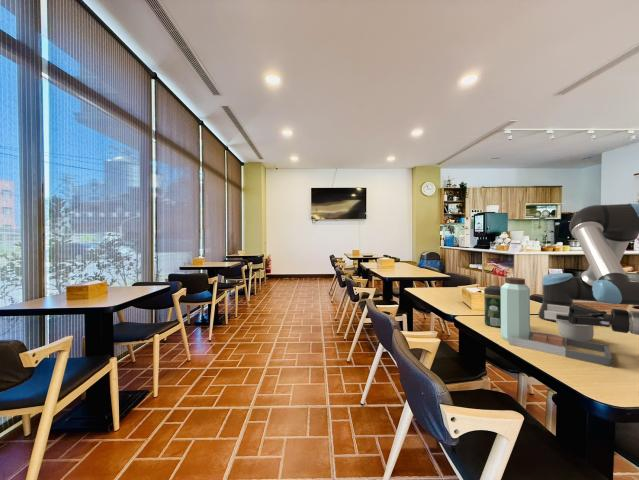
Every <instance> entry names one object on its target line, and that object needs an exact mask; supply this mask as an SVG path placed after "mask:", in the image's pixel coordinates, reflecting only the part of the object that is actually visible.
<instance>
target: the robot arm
mask: <svg viewBox="0 0 639 480" xmlns="http://www.w3.org/2000/svg"><path fill="white" fill-rule="evenodd" d="M569 221H570V222H569V227H568V228H569V232H570V234H571V236H572V238H574V239H575V240H577V241H578V243H579V246H580V247H581V250H582V252H583V253H584V256H585V258H586V260H587V262H588V264H589V266H588V268H587V270H584V271H583V272H582V273H581V275H580V276H574V275H573V274H572V273H568V272H567V273H566V272H565V273H561V272H560V273H559V272H557V273H548V274H545V275H544V276H543V278H542V282H541V283H542V303H541V306H540V308H539V311H538V318H540V319H541V320H542V319H543V320H545V321H549V322H554V323H556V320H560V321H566V322H568V321H569V322H570V323H571V324H578V325H593V327H594V326H595V327H605V328H609V327H610V326H611V330H612V331H613V332H617V333H622V334H628V333H629V332H630V333H631V335H638V336H639V311H638V310H630V311H629V310H627V309H620V308H619V309H618V308H611V309H610V313H609V314H608V313H607V311H605V310H603V311H602V310H597V309H596V310H595V309H591V308H586V307H579V306H575V305H573V303H574V302H573V301H582V302H594V303H595V302H596V303H604V304H610V305H611V304H612V305H627V306H628V305H630V306H631V305H632V306H639V281H631V279H630V278H629V276H628V275H627V273H626V271H625V270H624V269H625V268H623V266H622V264H621V261H622V258H623V257H624V255H625V252H626V249H627V248H628V246H629V243H630V242H634V241H636V239H638V238H639V237H638V236H639V203H630V202H629V203H621V204H594V205H589V206H586V207H584V208H581V209H580V210H579V211H577V212H575V214H574V215H573V216H572V217H571V219H570V220H569Z"/></svg>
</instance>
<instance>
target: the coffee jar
mask: <svg viewBox="0 0 639 480" xmlns="http://www.w3.org/2000/svg"><path fill="white" fill-rule="evenodd" d="M483 297H484V299H483V300H484V301H483V302H484V324H485V325H486V326H489V327H492V328H497V327H498V328H501V286H500V285H489V286H486V287H485V288H484V295H483Z"/></svg>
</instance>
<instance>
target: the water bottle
mask: <svg viewBox="0 0 639 480" xmlns="http://www.w3.org/2000/svg"><path fill="white" fill-rule="evenodd" d="M504 279H505V280H504V282H505V283H504V284H503V285H501V286H500V287H501V327H500V336H501V338H502V339H504V340H505V341H507V342H509V336H513V337H518V338H523V339H528V340H531V339H530V331H531V293H530V292H531V288H530V287H529V286H528V285H527V284H526V279H525V278H521V277H505V278H504Z"/></svg>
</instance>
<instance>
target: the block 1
mask: <svg viewBox="0 0 639 480" xmlns="http://www.w3.org/2000/svg"><path fill="white" fill-rule="evenodd" d="M532 340H533V341H538V342H543V343H548V342H547V335H544V334H538V333H534V334H533V339H532Z"/></svg>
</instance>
